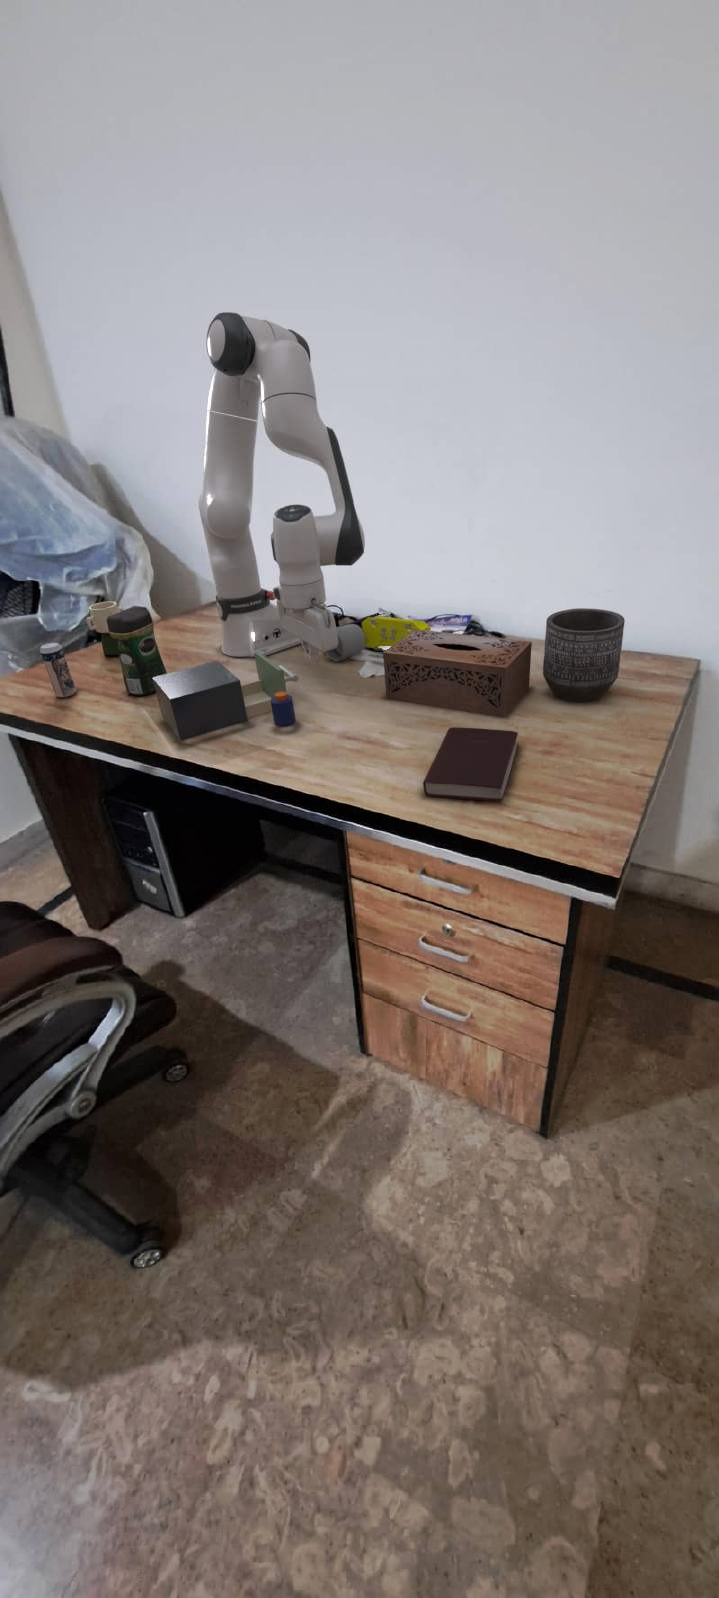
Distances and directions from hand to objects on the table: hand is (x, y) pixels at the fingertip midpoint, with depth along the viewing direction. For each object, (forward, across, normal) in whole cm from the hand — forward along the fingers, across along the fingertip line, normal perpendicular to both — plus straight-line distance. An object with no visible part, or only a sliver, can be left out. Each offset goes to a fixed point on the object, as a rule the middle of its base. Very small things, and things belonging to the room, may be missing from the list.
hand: (312, 659), depth 142 cm
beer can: (+7, +39, +46) cm, 61 cm away
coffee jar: (+8, +29, +30) cm, 42 cm away
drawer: (+7, 0, +14) cm, 16 cm away
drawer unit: (+7, +1, +25) cm, 26 cm away
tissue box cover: (+8, -20, -22) cm, 31 cm away
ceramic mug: (+8, +16, -15) cm, 23 cm away
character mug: (+8, +60, +30) cm, 67 cm away
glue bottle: (+8, -12, +13) cm, 19 cm away
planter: (+8, -36, -41) cm, 55 cm away
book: (+8, -47, -6) cm, 48 cm away
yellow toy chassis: (+8, +9, -27) cm, 30 cm away
